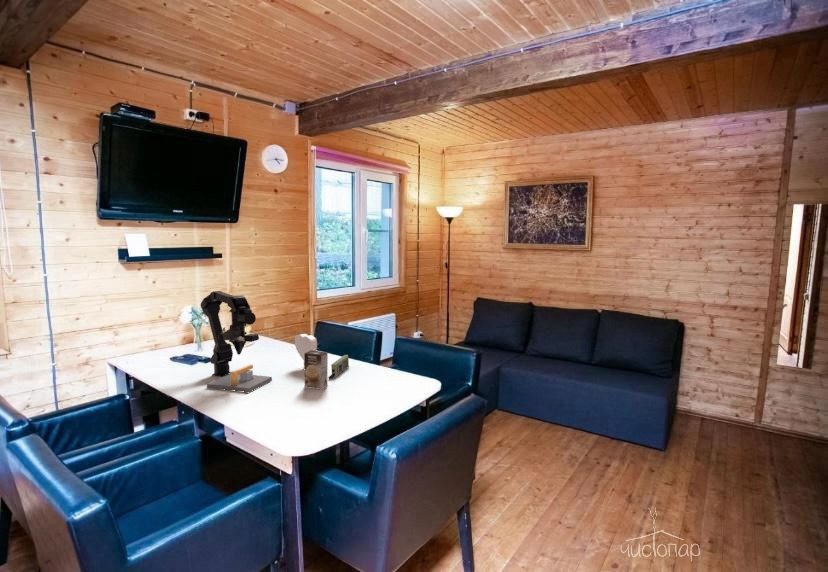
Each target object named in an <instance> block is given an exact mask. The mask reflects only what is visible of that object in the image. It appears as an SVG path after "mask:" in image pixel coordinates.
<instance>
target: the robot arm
mask: <svg viewBox="0 0 828 572" xmlns="http://www.w3.org/2000/svg"><path fill="white" fill-rule="evenodd" d="M222 303H225V304H227V307H229V308H230V309H229V313H231V315H230V316H231V324H229V328H228V329H227V330H226V331H224V330H223V328H222V323H221V320H220V316H219V315H220V312H221V306H222ZM200 307H201V310H202V313H203V314H204V315H205V316H206V317H207V318H208V322H209V326H210V327H209V328H210V329H211V334H212V338H213V341H214V346H213V350H212V352H213V354H212V356H211V357H210V359H209V361H210V363H211V364H212V365H213V369H214V370H213V371H214V373H212V376H214V375H215V377H224V376H227V375H229V373H230V374H231V372H232V371H230V370H231V369H230V365H229V364H230V362H232V360H233V355H234V352H233V349H232V345H233V347H234V349H235V351H236V354H237V355H239V356H240V355H241V354H242V352H243V350H244V346H245V345H246V343H247V342H249V343H253V342H255V341H259V339H260V336H259V334H258V333H249V334H247V331H245V330H246V329H245V328H246V327H247V325H253V324H254V323H255V322H256V319H257V318H256V317H257V316H256V315H255V313H254V312H253V311H252V309H251V306H250V304H249V302H248V300H247V298H246V297H245V295H232V294H229V293H226V292H223V291H222V290H221V291H220V290H217V291H216V290H215V291H212V292H210V293H209V295H207V296H206V297H204V298H203V299H202V301H201V302H200ZM226 341H228V342H229V343H228V342H226Z"/></svg>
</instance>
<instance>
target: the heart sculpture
mask: <svg viewBox="0 0 828 572" xmlns="http://www.w3.org/2000/svg"><path fill="white" fill-rule="evenodd" d="M294 344H295V345H294V346H295V349H296V352H297V353H298V354H299V356H300V358H301V359H302V360H303V361H304V353H306V352H308V351H311V350H314V351H317V349H318V340H317V337H315V336H314V335H308V334H307V333H302V334H296V335H295V336H294ZM300 366H301V367H300V368H303V369H305V365H304V364H303V365H300Z"/></svg>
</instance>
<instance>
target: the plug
mask: <svg viewBox="0 0 828 572" xmlns="http://www.w3.org/2000/svg"><path fill="white" fill-rule="evenodd" d="M253 375H254V373H253V370H252V369H250V370H248V371H245V372H243V373H241V374H240V381H250V380H252V379H253Z"/></svg>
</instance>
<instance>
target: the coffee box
mask: <svg viewBox="0 0 828 572" xmlns="http://www.w3.org/2000/svg"><path fill="white" fill-rule="evenodd" d="M328 362H329V361H328V351H320V350H316V351H314V350H311V351H308V352H306V353H304V360H303V366H304V365H305V370H304V388H309V387H311V389H316V388H319V389H318V390H322V389H324V388H326V387H327V386H328V370H329V369H328V368H329V367H328ZM323 387H324V388H323Z"/></svg>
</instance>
